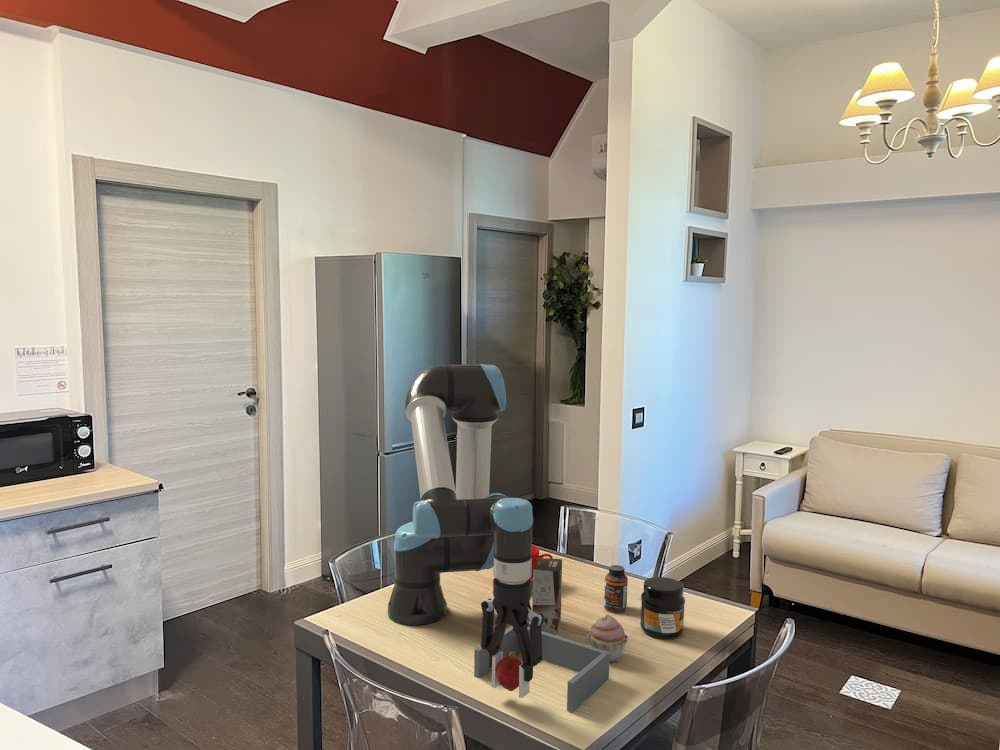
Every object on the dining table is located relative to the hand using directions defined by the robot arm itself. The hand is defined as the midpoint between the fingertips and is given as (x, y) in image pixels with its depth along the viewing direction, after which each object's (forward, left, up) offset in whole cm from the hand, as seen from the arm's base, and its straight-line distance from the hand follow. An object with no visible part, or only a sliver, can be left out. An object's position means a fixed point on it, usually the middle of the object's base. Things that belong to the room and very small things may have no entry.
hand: (510, 689), depth 147 cm
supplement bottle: (-3, +54, -3) cm, 54 cm away
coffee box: (-12, +34, -3) cm, 36 cm away
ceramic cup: (-32, +54, -3) cm, 63 cm away
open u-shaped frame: (0, +12, -3) cm, 12 cm away
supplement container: (+12, +49, -3) cm, 51 cm away
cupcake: (+7, +29, -3) cm, 30 cm away
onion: (0, 0, 0) cm, 0 cm away
